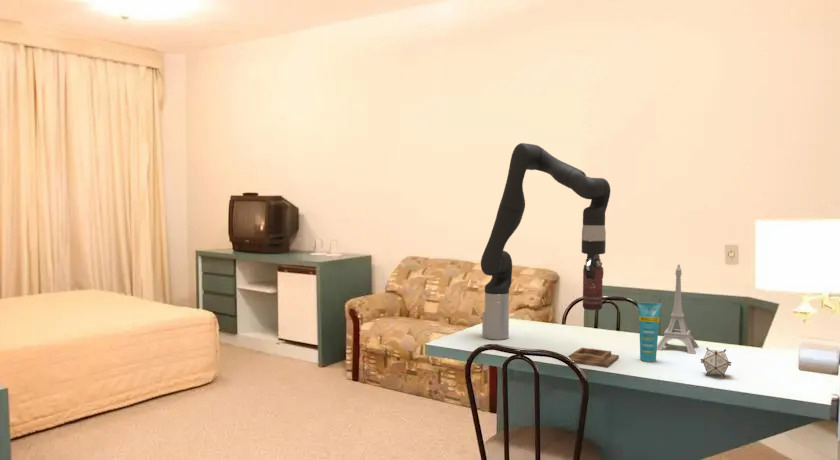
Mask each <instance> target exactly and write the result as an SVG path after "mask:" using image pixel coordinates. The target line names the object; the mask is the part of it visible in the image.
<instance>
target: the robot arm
mask: <svg viewBox="0 0 840 460" xmlns="http://www.w3.org/2000/svg"><path fill="white" fill-rule="evenodd" d="M527 170H529V171H534V170H535V171H539V172H544V173H546V174H548V175H550V176H551V178H552V179H553V180H554V181H556V182H558V184H561V185H562V186H564V187H566V188H568V189H571V190H572V192H574V193H575V194H576V195H577V196H579V197H580V198H582V199H585V200H591V201H590V204H589V206H588V207H585V208H584V209H583V212H582V229H581V253H582V254H586V259H585V264H584V265H583V268H584V270H585V274H586V278H587V279H594V278H595V277H594V271H593V268H594V267H599V266H601V267H603V262H602V260H601V257H600V255H604V254H606V244H607V243H606V236H607V235H606V234H607V233H606V231H607V230H606V211H607V207H608V205H609V202H610V201H609V200H610V197H611V186H610V185H611V184H610V183H609V182H608V180H607V179H605V178H603V177H590V176H587V175H586V173H585V172H584V171H583V170H581V169H579V168H577V167H575V166H573V165H571V164H568V163H567V162H564V161H562V160H560V159H558V158H556V157H555V156H553V155H552V154H551V153H549V152H548V151H547V150H545V149H544V148H543V147H541V146H539V145H537V144H532V143H525V142H522V143H521V142H520V143H519V144H517V145H516V146H515V147H514V149H513V151H512V153H511V158H510V163H509V167H508V173H507V177H506V183H505V186H504V189H503V193H502V197H501V199H500V203H499V206H498V209H497V212H496V217H495V221H494V223H493V227H492V230H491V233H490V236H489V239H488V241H487V243H486V245H485V249H484V251H483V252H482V256H481V259H480V268H481V271H482V272H483V274H484V275H486V276H491V279H490V280H489V281H488V282H487V283H486V285H484V311H483V312H482V318H481V319H482V320H481V321H482V329H481V331H482V336H481V338H485V339H488V340H498V341H499V340H501V341H502V340H508V339H509V337H510V335H509V331H510V329H509V328H510V317H509V316H510V288H511V286H512V277H513V260H512V257H511V255H510V253H509V252H507V251H505V246H506V245H507V242H508V241H509V239H510V238H511V237H512V235H513V234H514V233H515V232H516V230H517V229H518V227H519V226H520V224H521V222H522V219H523V215H524V212H525V210H526V209H525V208H526V200H525V194H524V185H523V184H524V179H525V175H526V172H527ZM588 274H590V275H592V276H588Z"/></svg>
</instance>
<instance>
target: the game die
mask: <svg viewBox="0 0 840 460" xmlns="http://www.w3.org/2000/svg"><path fill="white" fill-rule="evenodd" d="M706 350H707V351H706V352H705V355H704V356H703V358H700V363H701V364H703V365H704V366H703V367H704V368H705V371H706V373H705V376H708V375H718V376H723V378H726V375H725V374H726V372H727V369H728V367H729V366H732V361H729V358H728V357H727V355H726V353H725V352H726V351H727V349H726V348H725V349H723V351H722V350H714V349H709V347H706Z"/></svg>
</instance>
